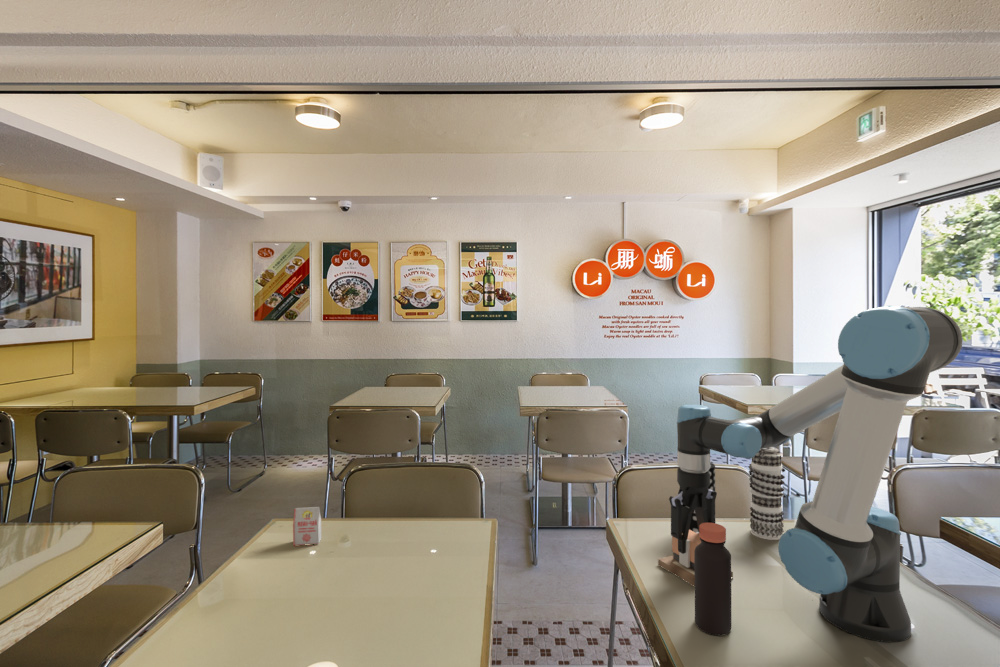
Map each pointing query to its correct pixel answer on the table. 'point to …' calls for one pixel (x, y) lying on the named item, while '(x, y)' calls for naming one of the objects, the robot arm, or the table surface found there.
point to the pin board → (679, 568)
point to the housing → (694, 542)
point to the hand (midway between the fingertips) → (692, 562)
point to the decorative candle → (766, 494)
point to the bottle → (712, 580)
